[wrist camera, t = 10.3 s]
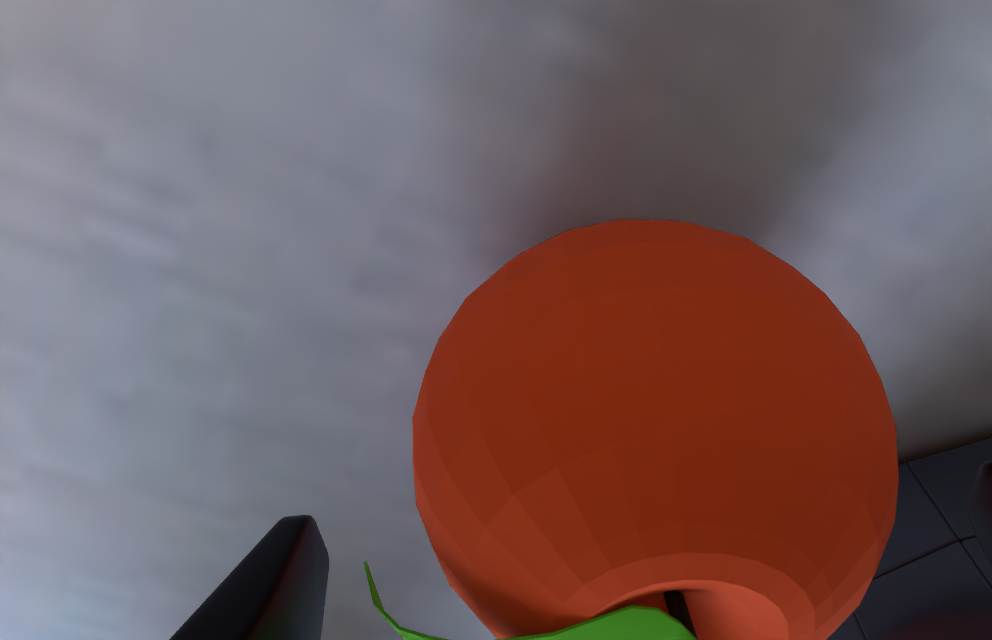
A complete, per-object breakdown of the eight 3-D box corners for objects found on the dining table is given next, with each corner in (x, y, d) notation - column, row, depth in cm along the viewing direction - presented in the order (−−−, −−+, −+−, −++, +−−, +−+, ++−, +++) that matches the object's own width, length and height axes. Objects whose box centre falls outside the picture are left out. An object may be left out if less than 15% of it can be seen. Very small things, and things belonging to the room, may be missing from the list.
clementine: (468, 494, 16) (441, 858, 10) (321, 250, 13) (146, 581, 7) (815, 401, 14) (1036, 775, 8) (755, 87, 11) (1059, 336, 5)
